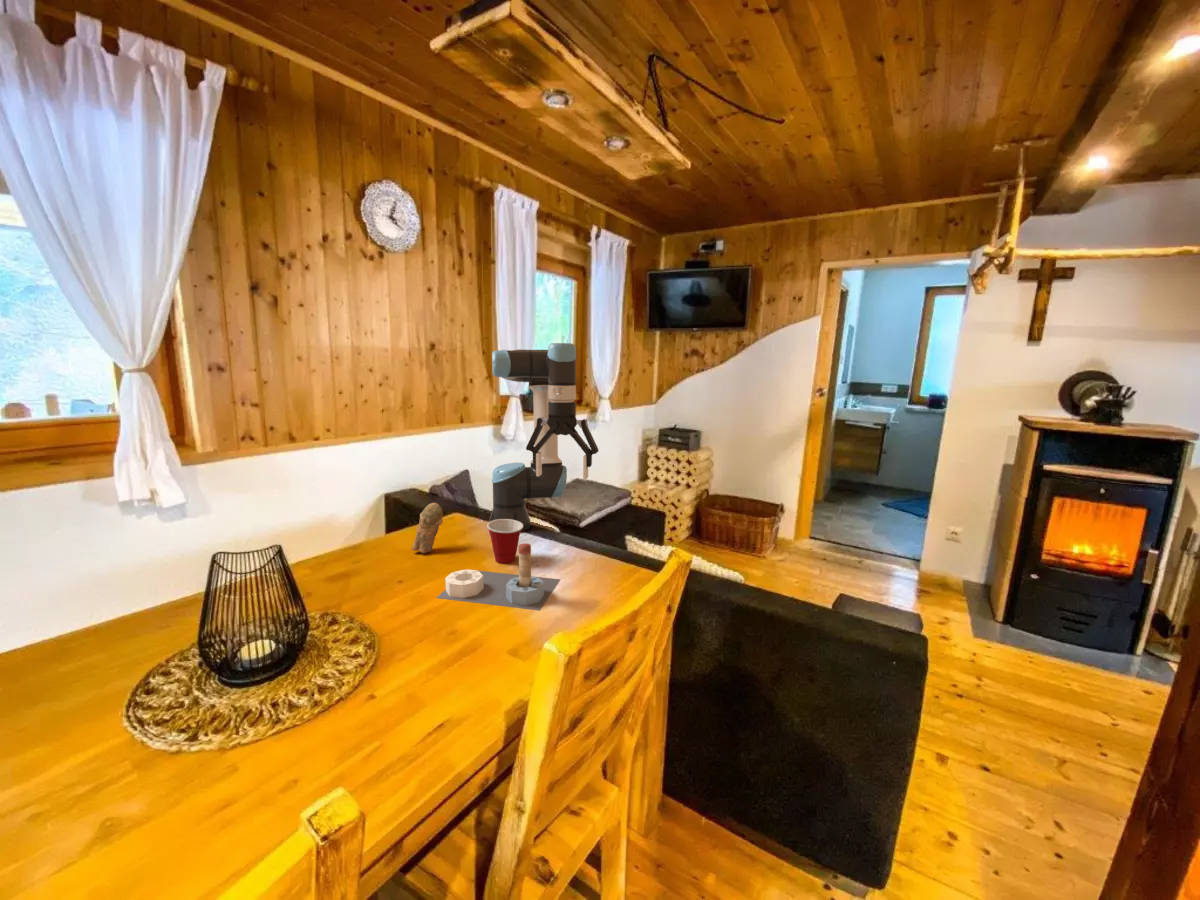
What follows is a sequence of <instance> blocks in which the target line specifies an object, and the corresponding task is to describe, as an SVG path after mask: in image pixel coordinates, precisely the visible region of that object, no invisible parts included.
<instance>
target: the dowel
mask: <svg viewBox="0 0 1200 900" xmlns="http://www.w3.org/2000/svg"><path fill="white" fill-rule="evenodd" d="M531 552H532V545H531V544H530V543H519V544H518V575H519V587H521V588H527V587H531V576H532V561H531V560H532V554H531Z"/></svg>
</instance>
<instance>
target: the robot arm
mask: <svg viewBox="0 0 1200 900" xmlns="http://www.w3.org/2000/svg"><path fill="white" fill-rule="evenodd" d="M547 348H548V349H513V350H512V349H511V350H507V349H501V350H493V351H492V354H491V357H492V358H491V362H492V363H491V365H492V369H491V370H492V375H493V376H494V377H496V378H501V379H505V380H508V381H511V382H517V383H528V388H529V389H530V390H531V391H532V396H533V399H532V401H533V403H532V405H533V432H532V435H531V436H530V439H529V441H528V443H527V445H526V447H525V449H526V451H529V452H531V454H532V460H530V466H526V465H525V463H524V462H510V463H504V464H500V465H498V466H496V467H495V468H494V469H493V470H492V478H491V479H492V480H491V483H492V509H491V514H490V516H489V520H488V523H489V522H490V521H493V520H498V519H511V520H516V521H519V522H521V523H522V524H523V528H522V530H521V532H520V533H522V532H524V531H527V530H529V529H530V527H531V518H530V514H529V512H528V510H527V507H526V500H529V499H530V500H534V499H552V498H553V499H554V498H560V497H562V496H563V495H564V494H565V490H566V485H567V480H568V479H567V478H568V477H567V476H568V475H567V473H568V471H567V470H568V469H567V466H566V465H563V460H562V459H561V458H560V457H559V444H558V442H559V441H558V436H560V435H563V436H570V437H571V438H572V439H573V440H574V441H575V442H576V444H577V445H578V446H579V448H580V449H581V450H582V451H583V452H584V455H583V461H582V462H583V463H582V465H583V467H582V471H583V473H582V474H583V475H582V479H583V480H587V479H588V478H589V468H590V467H592V465H593V455H596V454H597V453H599V451H600V450H599V448H598V445H597V443H596V441H595V439H594V437H593V435H592V432H591V430H590V429H589V424H588V419H587V418H583V419H578V420H577V409H576V407H577V403H576V402H575V400H576V399H577V386H576V385H577V384H576V383H577V382H576V381H577V380H576V379H577V377H576V376H577V373H576V372H577V359H578V357H577V348H576V345H575V344H574V343H571V342H570V343H569V342H568V343H567V342H553V343H552V342H551V343H549V344H548V347H547ZM577 425H578V427H579V428H581V431H582V433H583V436H584V437H585V439H586V442H587V443H588V444H587V443H586V442H585V441H584V439H583V438H582V436H581V435H580V434H579V432H578V431H577V429H576V427H577Z"/></svg>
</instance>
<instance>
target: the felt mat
mask: <svg viewBox="0 0 1200 900" xmlns="http://www.w3.org/2000/svg"><path fill="white" fill-rule="evenodd" d="M467 570H470V569H467ZM475 570H476V569H475ZM476 571H479V572H480V573H481V574H482V575H483V585H484V588H483V589H482V590H481V591H480V592H479V593H478V594H477V595H474V596H470V597H466V598H458V597H450V596H449V595H448V593H447V592H446V588H445V590H443V591H442V592H440V594H439V595H437V596H436V597H435V599H439V600H449V601H457V602H458V601H459V602H466V603H473V604H483V605H491V606H498V607H499V606H500V607H506V608H514V609H516V608H517V609H521V610H522V609H523V610H532V611H541V610H542V608H543V606H544V605H545V604H546V602H547V601H548V599H549V597H550V596H552V595H551V594H553V592H554V590H555V588H556V587H557V585H559V583H560V581H561V578H550V577H542V576H537V577H538V578H539V579H541V580H542V581H543V582H544V596H543V597H542V599H541V600H540V602H537V603H534V604H530V605H526V606H525V605H516V604H511V602H510V601H509V600H508V599H507V598H506V584H507V583H508V582H509V581H510V580H511V579H513V578H517V577H519V574H514V573H513V574H512V573H506V572H505V573H504V572H495V571H486V570H485V571H484V570H476ZM531 576H532V575H531ZM532 577H535V576H534V575H533V576H532Z"/></svg>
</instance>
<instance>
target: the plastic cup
mask: <svg viewBox="0 0 1200 900" xmlns="http://www.w3.org/2000/svg"><path fill="white" fill-rule="evenodd" d="M486 527H487V529H488V532H489V536H490V541H491V544H492V545H491V547H492V551H493V555H494V560H495V562H496V563H497V564H500V565H506V564H512V563H514V562H515V560H516V558H517V557H516V556H517V551H518V548H519V540H520V535H521V533H522V532H521V530H522V528H523V524H522V523H521V522H519V521H516V520H511V519H498V520H493V521H490V522H489V521H488V523H487V524H486Z"/></svg>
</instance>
